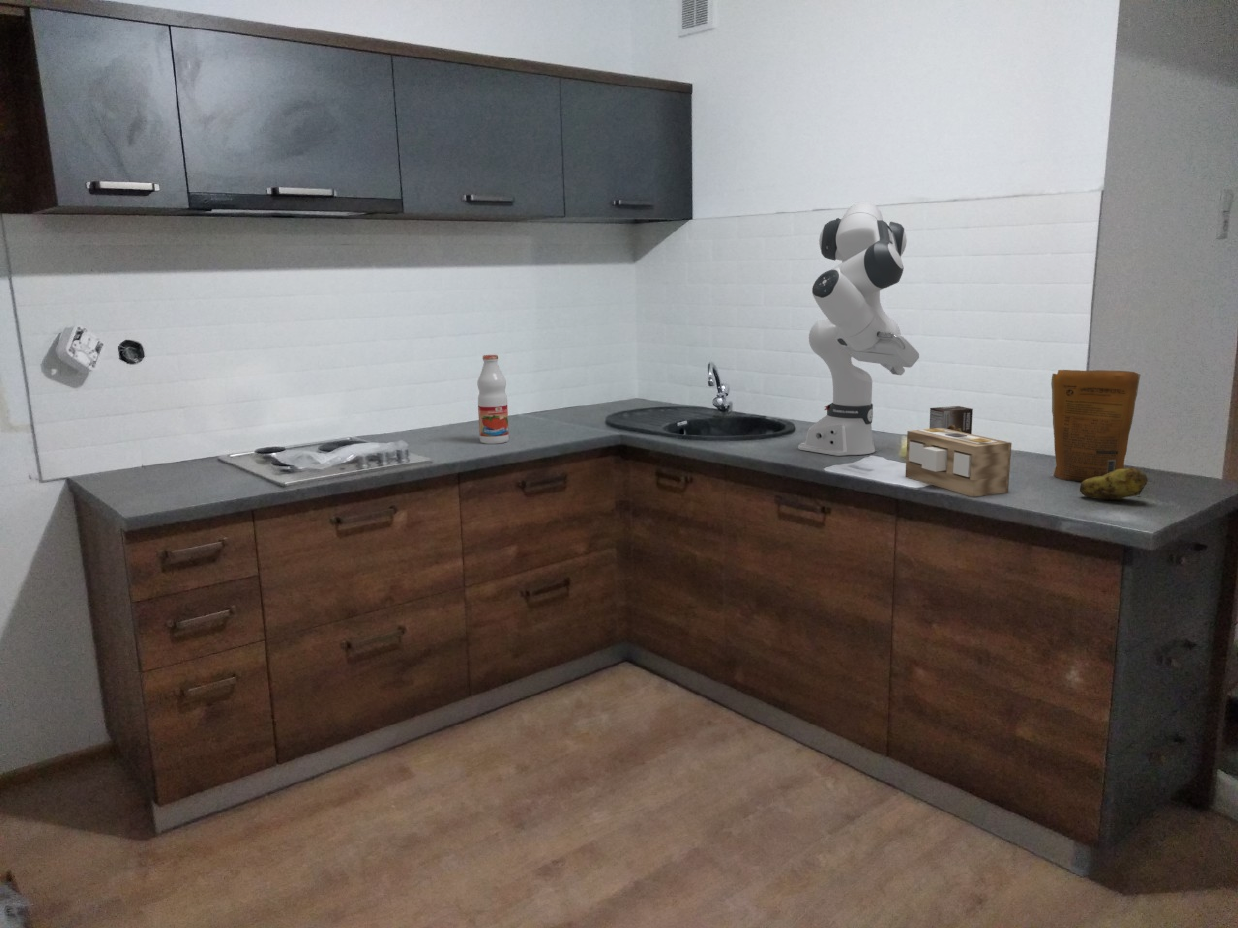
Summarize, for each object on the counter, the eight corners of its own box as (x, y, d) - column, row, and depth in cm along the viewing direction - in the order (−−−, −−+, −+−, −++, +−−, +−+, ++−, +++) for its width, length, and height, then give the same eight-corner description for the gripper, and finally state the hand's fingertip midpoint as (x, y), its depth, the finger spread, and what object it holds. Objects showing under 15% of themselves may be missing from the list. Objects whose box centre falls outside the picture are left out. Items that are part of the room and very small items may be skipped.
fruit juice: (503, 438, 303) (499, 353, 297) (513, 442, 295) (509, 355, 289) (476, 440, 299) (471, 355, 293) (485, 445, 290) (480, 357, 285)
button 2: (967, 477, 215) (969, 456, 214) (952, 472, 219) (954, 452, 218) (997, 473, 218) (999, 452, 217) (982, 469, 222) (983, 449, 221)
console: (972, 496, 214) (975, 444, 212) (905, 476, 236) (907, 429, 234) (1008, 492, 218) (1011, 440, 216) (938, 472, 240) (941, 425, 237)
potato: (1093, 492, 216) (1096, 459, 215) (1150, 502, 206) (1153, 468, 204) (1075, 498, 211) (1078, 464, 210) (1132, 508, 201) (1136, 473, 200)
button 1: (921, 464, 229) (922, 444, 228) (908, 460, 234) (909, 441, 233) (950, 461, 232) (951, 441, 231) (937, 457, 237) (938, 438, 236)
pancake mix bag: (1125, 489, 219) (1137, 372, 213) (1042, 478, 231) (1051, 368, 225) (1133, 484, 223) (1144, 370, 218) (1051, 474, 236) (1060, 365, 230)
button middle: (935, 471, 221) (936, 451, 220) (921, 467, 225) (922, 447, 224) (964, 468, 224) (966, 448, 223) (950, 464, 229) (951, 444, 228)
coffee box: (955, 463, 251) (959, 405, 248) (970, 467, 245) (974, 408, 242) (926, 465, 249) (929, 407, 246) (940, 470, 243) (944, 410, 240)
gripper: (904, 323, 195) (938, 366, 200) (847, 319, 214) (880, 359, 219) (886, 345, 194) (921, 387, 200) (830, 339, 213) (863, 378, 218)
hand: (899, 372), depth 210 cm, fingers closed
